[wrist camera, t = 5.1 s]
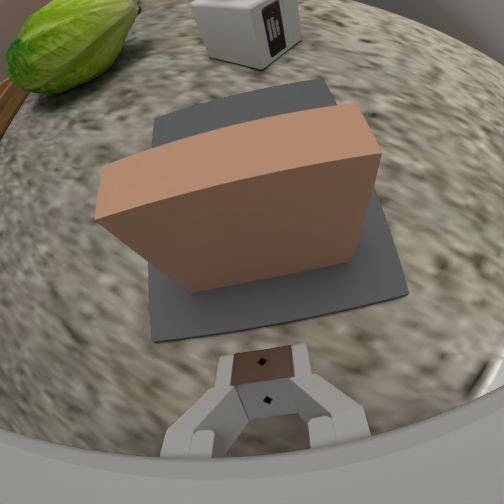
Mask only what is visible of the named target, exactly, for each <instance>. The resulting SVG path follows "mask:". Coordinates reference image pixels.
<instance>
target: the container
mask: <svg viewBox="0 0 504 504" xmlns="http://www.w3.org/2000/svg"><path fill="white" fill-rule="evenodd" d="M191 9H192V12H193V14H194V17H195V20H196V22H197V25H198V28H199V31H200V33H201V36H202V39H203V42H204V45H205V47H206V50H207V53H208V56H209V57H210V58H215V59H219V60H224V61H228V62H232V63H237V64H241V65H244V66H248V67H252V68H256V69H259V70H263V69H264V68H265V67H267V66H268V65H269V64H270V63H272V62H273V61H274V60H275V59H277V58H278V57H279V56H280V55H282V54H283V53H284V52H286V51H287V50H288V49H290V48H291V47H292V46H294V45H295V44H296V43H298V42H299V41H300V40H301V39H302V36H301V27H300V19H299V12H298V4H297V0H196V1H194V2H192V3H191Z"/></svg>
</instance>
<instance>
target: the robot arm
mask: <svg viewBox="0 0 504 504" xmlns="http://www.w3.org/2000/svg"><path fill="white" fill-rule="evenodd" d="M295 413H298V415H299V416H300V417H301V418H302V419H303V420H304V421H305V422H306V423H307V424H308V427H309V438H310V448H311V449H306V450H299V451H292V452H285V453H277V454H267V455H257V456H244V457H229V456H228V455H227V452H228V450H229V449H230V447H231V446H232V445H233V443H234V442H235V440H236V439H237V438H238V436H239V435H240V433H241V432H242V430H243V429H244V428H245V426H246V425H247V423H248V422H249V420H250V419H258V418H265V417H271V416H280V415H288V414H295ZM0 504H504V385H503V386H501V387H499V388H497V389H496V390H493V391H491V392H489V393H487V394H485V395H483V396H481V397H479V398H476V399H474V400H472V401H470V402H468V403H465V404H463V405H461V406H458V407H456V408H453V409H451V410H448V411H446V412H443V413H441V414H438V415H435V416H433V417H430V418H427V419H424V420H422V421H419V422H416V423H413V424H410V425H407V426H403V427H400V428H397V429H394V430H390V431H387V432H383V433H380V434H376V435H372V436H371V434H370V430H369V427H368V423H367V420H366V416H365V413H364V409H363V407H362V406H361V405H360V404H358V403H357V402H355V401H354V400H353V399H351V398H350V397H348V396H347V395H346V394H344V393H343V392H341V391H340V390H339V389H337V388H336V387H335V386H333V385H332V384H330V383H329V382H328V381H326V380H325V379H324V378H322V377H321V376H320V375H318V374H317V373H314V374H312V371H311V365H310V360H309V354H308V348H307V343H306V342H301V343H296V344H292V345H288V346H282V347H277V348H271V349H265V350H258V351H250V352H243V353H235V354H228V355H221V356H220V358H219V362H218V368H217V373H216V379H215V385H214V388H210V389H209V390H208V391H207V392H206V393H205V394H204V395H203V396H202V397H201V398H200V399H199V400H198V401H197V402H196V403H194V404H193V405H192V406H191V407H190V408H189V409H188V410H187V411H186V412H185V413H184V414H183V415H182V416H181V417H180V418H179V419H178V420H177V421H176V422H175V423H173V424H172V425H171V426H170V427H169V428H168V429H167V431H166V434H165V438H164V442H163V445H162V449H161V453H160V456H159V457H149V456H137V455H126V454H117V453H109V452H102V451H96V450H89V449H83V448H78V447H73V446H68V445H63V444H58V443H54V442H49V441H45V440H41V439H37V438H33V437H30V436H26V435H22V434H19V433H16V432H12V431H9V430H6V429H4V428H1V427H0Z"/></svg>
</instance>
